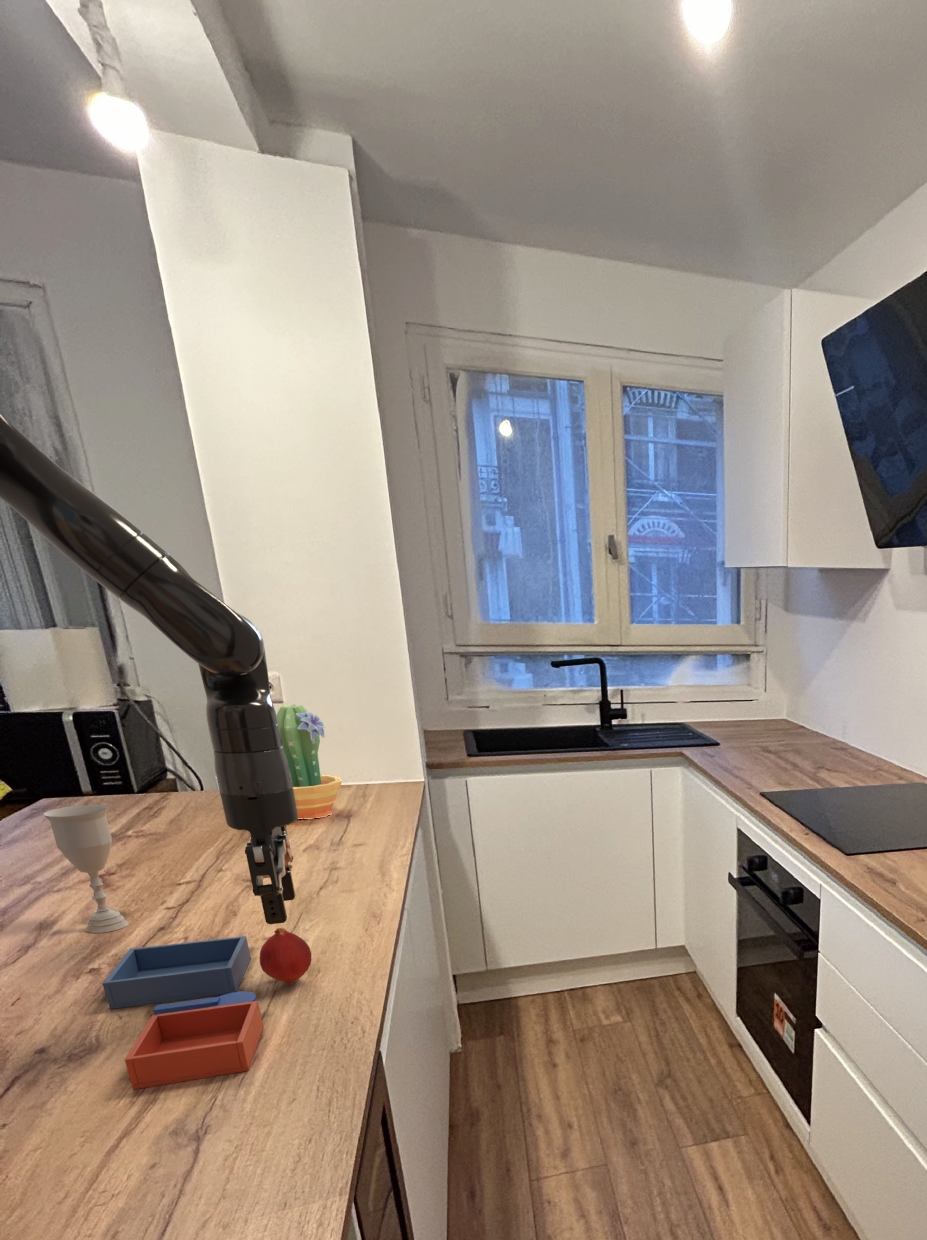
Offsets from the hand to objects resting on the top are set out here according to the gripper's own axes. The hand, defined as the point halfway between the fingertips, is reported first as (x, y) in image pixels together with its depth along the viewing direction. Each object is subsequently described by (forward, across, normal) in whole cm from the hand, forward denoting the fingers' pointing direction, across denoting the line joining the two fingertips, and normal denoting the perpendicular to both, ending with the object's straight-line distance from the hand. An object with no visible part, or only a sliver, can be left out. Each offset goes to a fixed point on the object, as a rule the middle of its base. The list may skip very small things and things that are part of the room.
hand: (281, 910), depth 103 cm
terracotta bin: (+10, +17, -7) cm, 21 cm away
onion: (+10, 0, -1) cm, 10 cm away
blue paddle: (+10, +6, -9) cm, 15 cm away
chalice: (+10, -31, -28) cm, 43 cm away
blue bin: (+10, -5, -13) cm, 17 cm away
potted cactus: (+10, -97, -7) cm, 98 cm away
